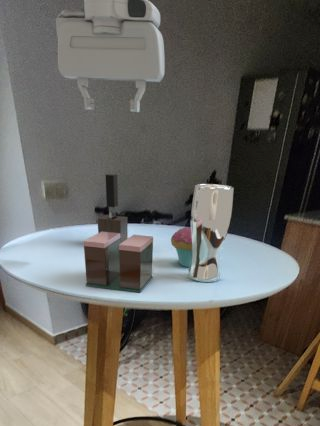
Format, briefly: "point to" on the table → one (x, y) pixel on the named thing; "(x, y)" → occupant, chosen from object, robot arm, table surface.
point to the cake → (118, 261)
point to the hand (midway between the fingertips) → (112, 110)
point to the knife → (112, 194)
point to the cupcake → (183, 245)
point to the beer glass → (209, 229)
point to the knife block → (114, 226)
